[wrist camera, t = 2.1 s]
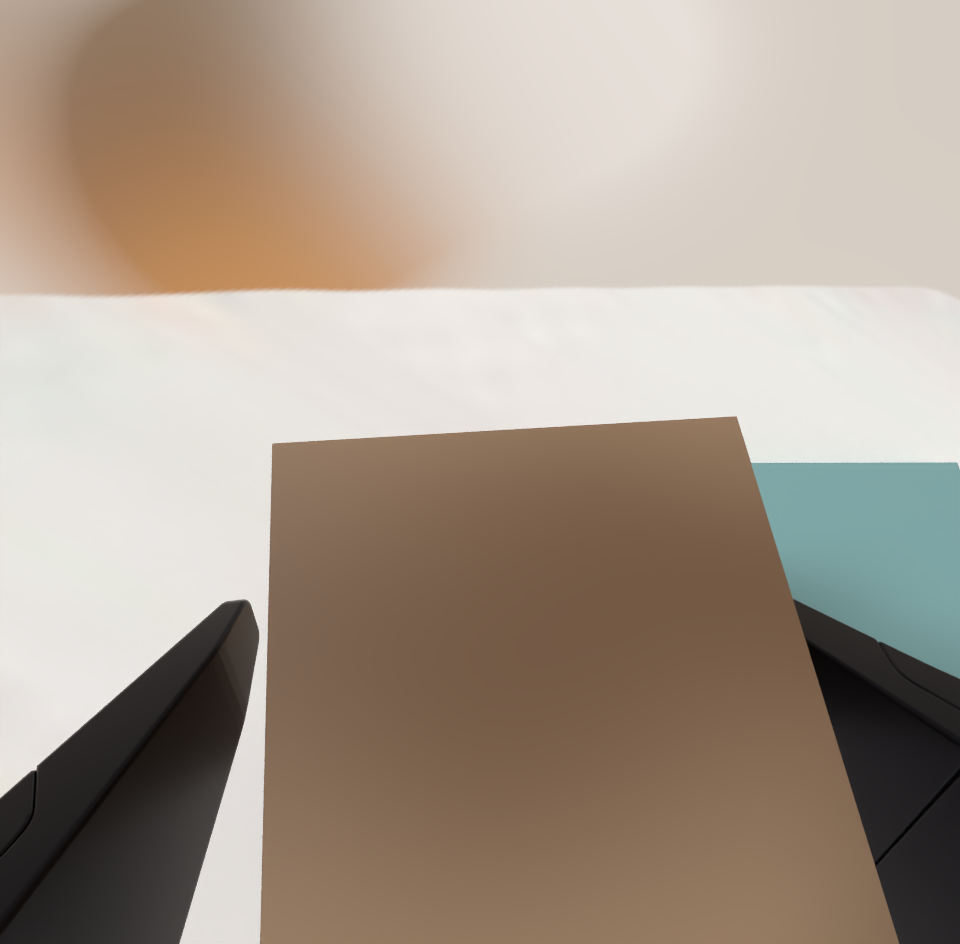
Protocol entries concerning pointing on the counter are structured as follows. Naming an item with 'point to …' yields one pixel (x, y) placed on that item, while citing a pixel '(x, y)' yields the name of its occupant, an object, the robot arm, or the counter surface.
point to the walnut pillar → (546, 700)
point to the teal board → (873, 548)
